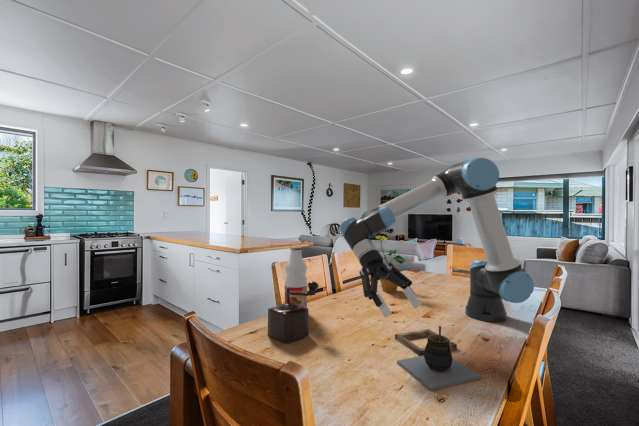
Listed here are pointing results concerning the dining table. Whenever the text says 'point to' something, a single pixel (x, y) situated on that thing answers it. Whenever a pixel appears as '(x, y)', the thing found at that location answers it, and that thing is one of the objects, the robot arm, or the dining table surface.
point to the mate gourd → (438, 352)
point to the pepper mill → (290, 318)
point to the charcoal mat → (437, 373)
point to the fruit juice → (296, 277)
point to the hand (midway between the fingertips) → (403, 310)
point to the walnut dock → (404, 336)
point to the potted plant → (387, 284)
